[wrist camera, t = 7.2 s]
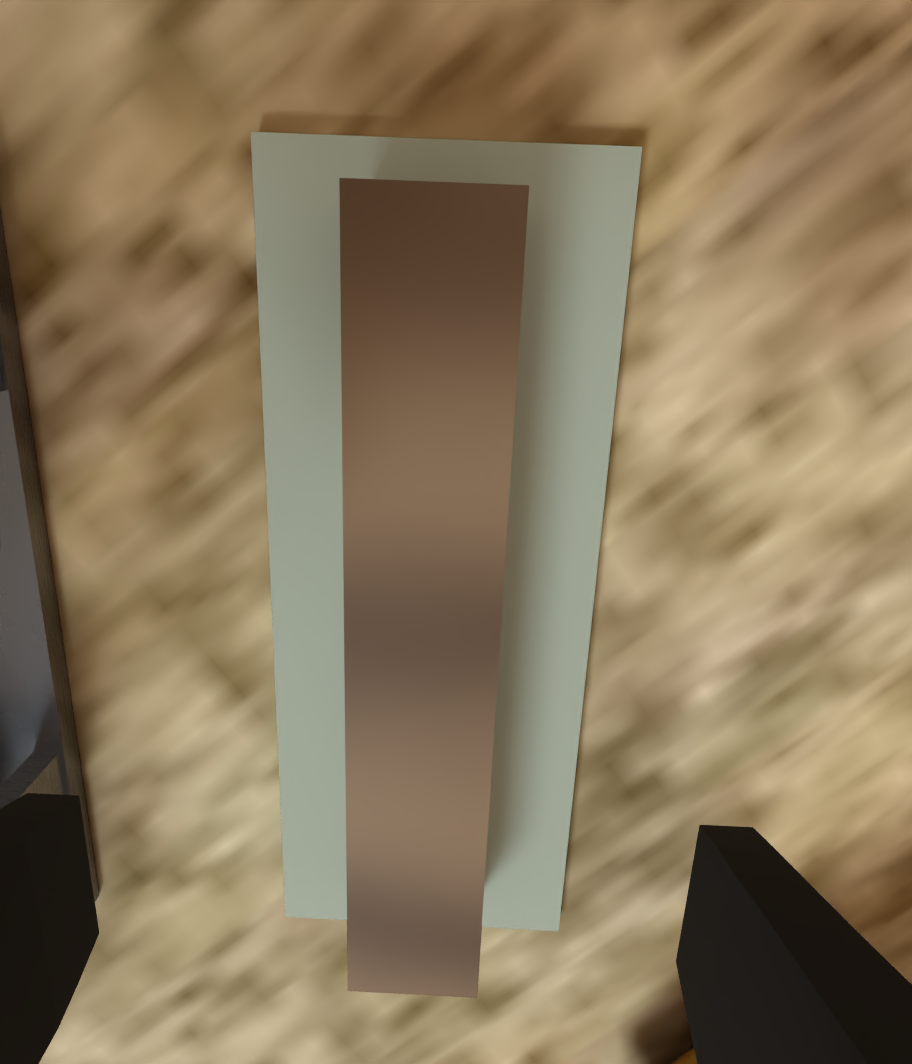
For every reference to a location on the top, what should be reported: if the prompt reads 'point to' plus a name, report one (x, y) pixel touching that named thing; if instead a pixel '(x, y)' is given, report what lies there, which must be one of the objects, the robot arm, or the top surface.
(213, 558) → the top surface
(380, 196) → the rail
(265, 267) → the mat
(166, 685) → the top surface
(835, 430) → the top surface
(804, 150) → the top surface
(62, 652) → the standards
